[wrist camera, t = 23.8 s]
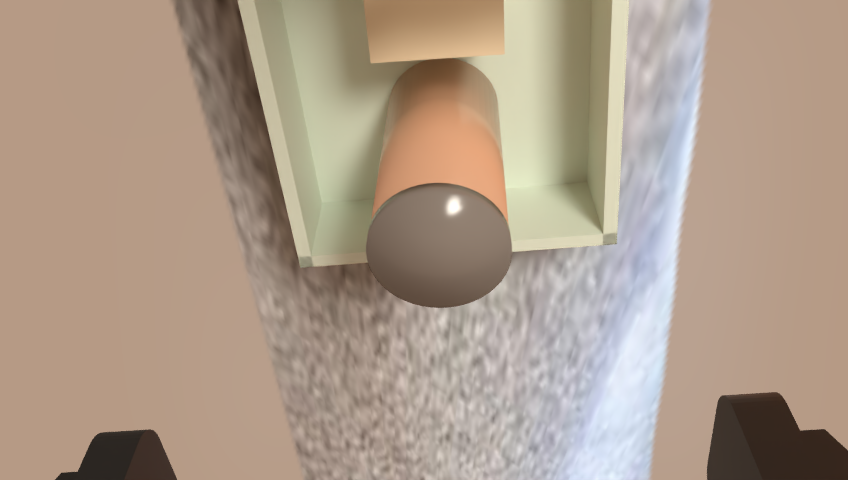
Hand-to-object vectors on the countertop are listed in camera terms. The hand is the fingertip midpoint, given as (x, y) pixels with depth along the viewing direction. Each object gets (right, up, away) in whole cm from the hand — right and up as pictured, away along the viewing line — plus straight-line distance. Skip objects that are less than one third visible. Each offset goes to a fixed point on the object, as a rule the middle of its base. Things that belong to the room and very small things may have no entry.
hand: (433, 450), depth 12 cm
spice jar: (+1, +9, +25) cm, 26 cm away
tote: (0, +12, +23) cm, 26 cm away
